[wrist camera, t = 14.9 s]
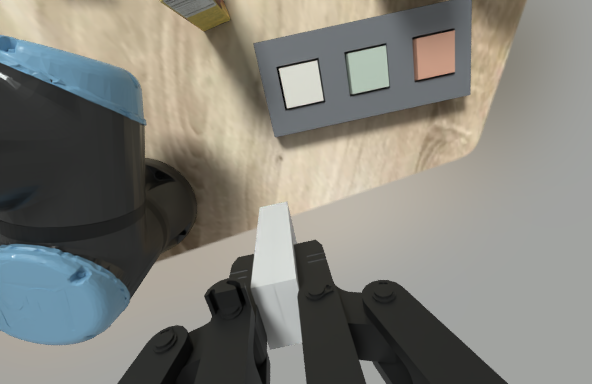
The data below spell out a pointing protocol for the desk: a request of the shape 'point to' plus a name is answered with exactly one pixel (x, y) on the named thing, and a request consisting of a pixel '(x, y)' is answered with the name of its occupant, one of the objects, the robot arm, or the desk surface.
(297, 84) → the cream key
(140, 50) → the desk surface
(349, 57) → the sage key
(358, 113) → the keypad
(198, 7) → the candy box
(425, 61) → the terracotta key
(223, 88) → the desk surface
